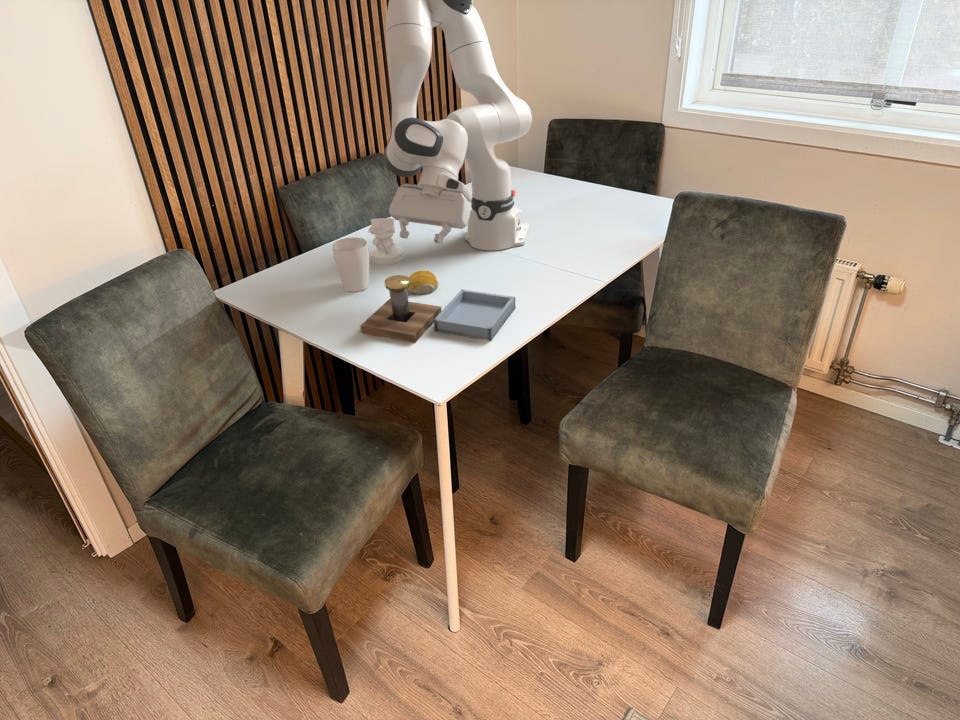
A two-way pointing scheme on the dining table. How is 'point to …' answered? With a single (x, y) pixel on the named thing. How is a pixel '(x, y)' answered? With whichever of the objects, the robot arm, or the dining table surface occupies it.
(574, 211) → the dining table surface
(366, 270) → the cup
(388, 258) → the character figurine
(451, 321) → the tray
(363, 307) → the dining table surface
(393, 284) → the pin
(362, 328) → the socket block
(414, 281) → the bread roll
